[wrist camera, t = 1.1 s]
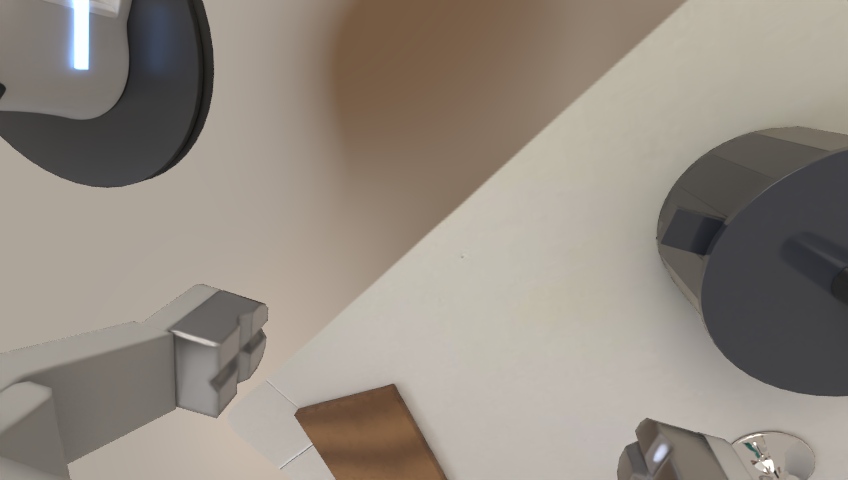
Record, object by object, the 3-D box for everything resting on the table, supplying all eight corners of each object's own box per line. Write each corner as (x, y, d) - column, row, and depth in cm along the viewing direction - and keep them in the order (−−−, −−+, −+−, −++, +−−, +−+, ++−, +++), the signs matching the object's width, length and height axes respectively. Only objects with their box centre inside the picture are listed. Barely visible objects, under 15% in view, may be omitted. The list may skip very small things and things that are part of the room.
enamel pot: (838, 337, 35) (948, 426, 26) (596, 269, 36) (622, 330, 28) (967, 167, 29) (1165, 206, 20) (672, 95, 31) (736, 104, 22)
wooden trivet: (297, 408, 49) (293, 415, 48) (394, 383, 45) (391, 390, 44) (356, 500, 53) (353, 507, 52) (450, 484, 49) (449, 492, 48)
